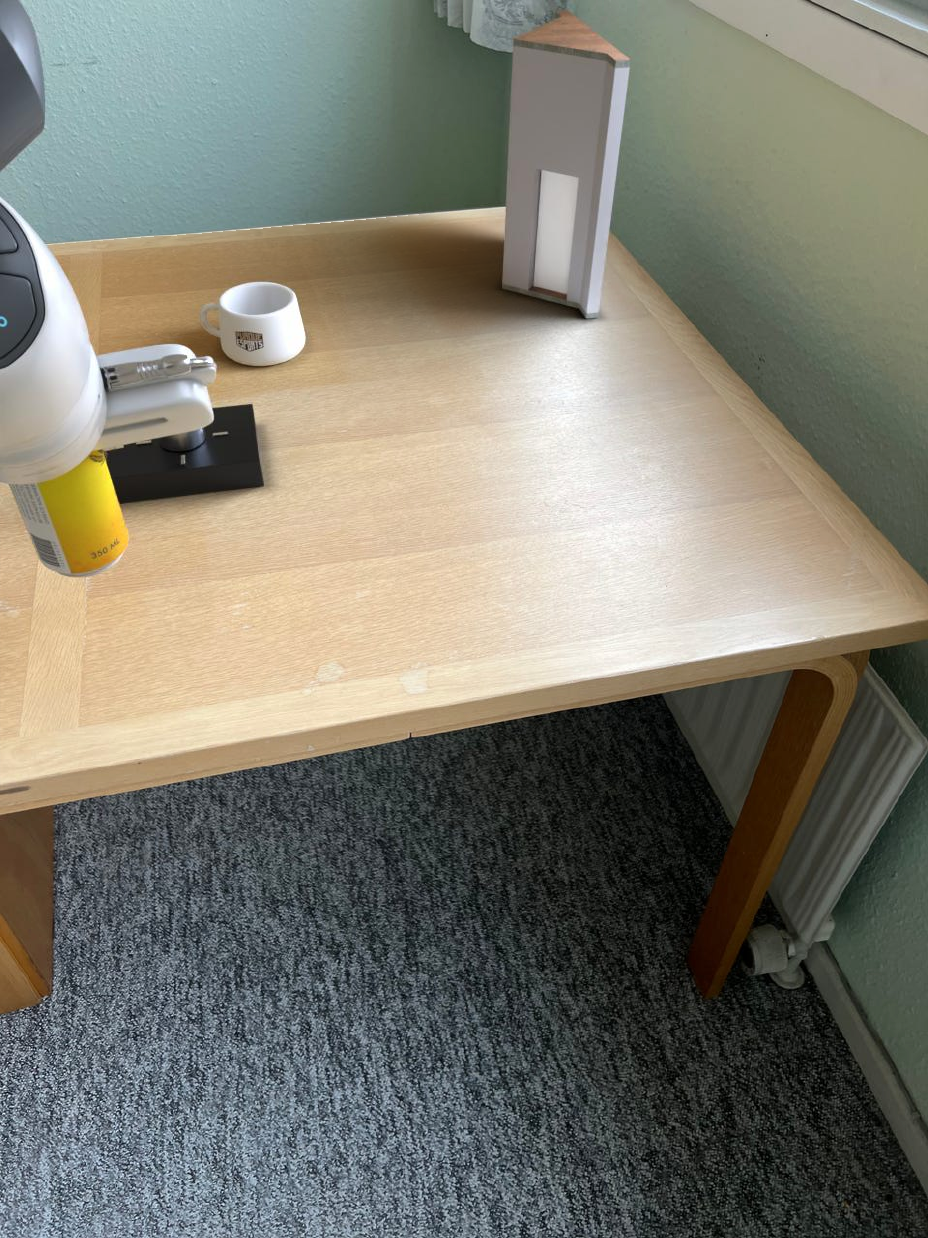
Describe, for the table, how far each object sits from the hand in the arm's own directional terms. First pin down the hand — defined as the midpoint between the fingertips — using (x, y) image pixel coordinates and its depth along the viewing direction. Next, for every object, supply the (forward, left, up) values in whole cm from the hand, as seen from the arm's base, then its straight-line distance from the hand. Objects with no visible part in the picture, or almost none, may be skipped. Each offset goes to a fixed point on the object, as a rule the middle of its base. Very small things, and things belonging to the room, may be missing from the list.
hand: (50, 449), depth 59 cm
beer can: (0, -1, -9) cm, 9 cm away
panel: (+6, +25, -19) cm, 32 cm away
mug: (+14, +47, -20) cm, 52 cm away
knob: (+6, +25, -16) cm, 30 cm away
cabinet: (+51, +56, -20) cm, 78 cm away
